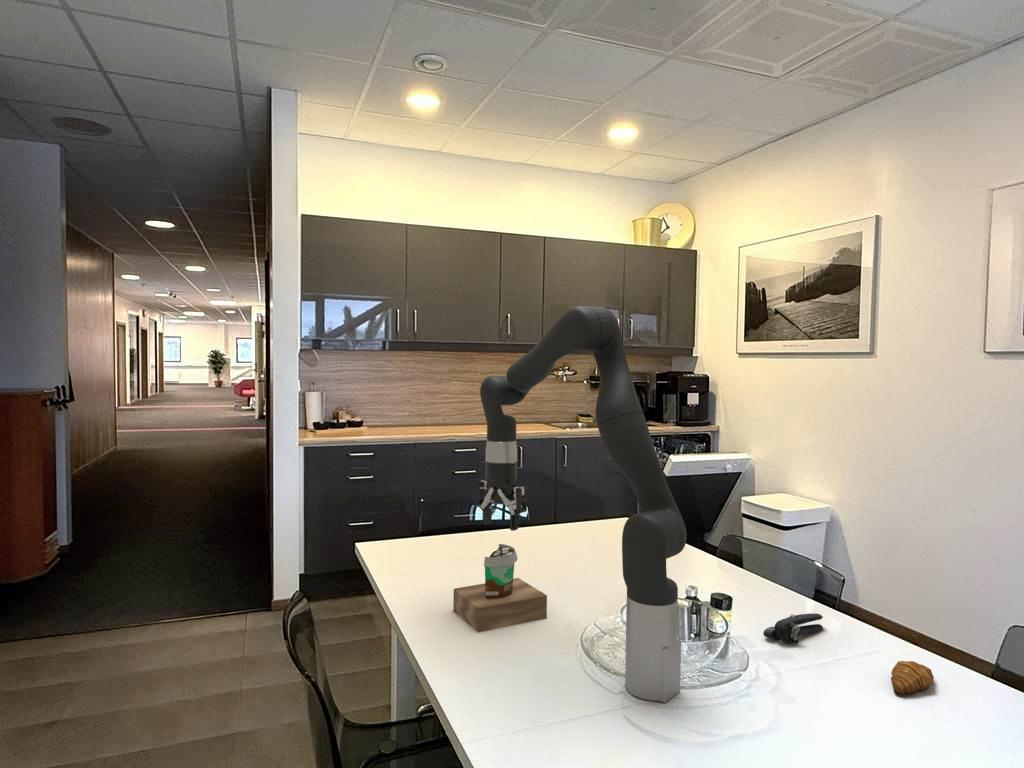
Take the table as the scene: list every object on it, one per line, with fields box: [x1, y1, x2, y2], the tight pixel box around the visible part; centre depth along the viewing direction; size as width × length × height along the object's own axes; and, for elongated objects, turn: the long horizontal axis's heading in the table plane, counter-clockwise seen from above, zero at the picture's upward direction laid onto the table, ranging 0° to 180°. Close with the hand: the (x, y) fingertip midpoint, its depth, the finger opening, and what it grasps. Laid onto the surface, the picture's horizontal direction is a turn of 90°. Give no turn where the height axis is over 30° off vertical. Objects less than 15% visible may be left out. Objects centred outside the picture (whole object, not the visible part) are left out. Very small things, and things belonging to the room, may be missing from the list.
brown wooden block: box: [452, 577, 548, 634], centre depth 151 cm, size 14×18×6 cm
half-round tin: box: [483, 543, 519, 599], centre depth 150 cm, size 12×6×10 cm, turn 164°
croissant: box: [890, 660, 935, 697], centre depth 119 cm, size 14×7×5 cm, turn 127°
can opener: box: [763, 612, 824, 645], centre depth 141 cm, size 18×7×6 cm, turn 121°
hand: (500, 526), depth 150 cm, fingers open, 8 cm apart
